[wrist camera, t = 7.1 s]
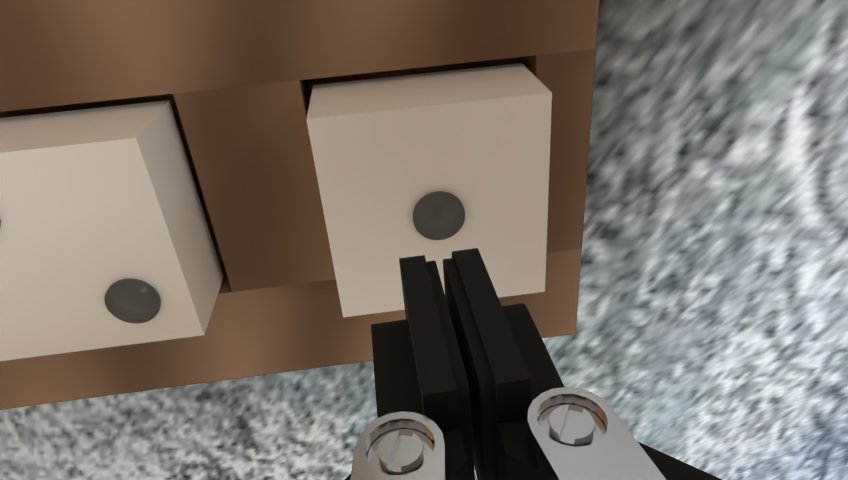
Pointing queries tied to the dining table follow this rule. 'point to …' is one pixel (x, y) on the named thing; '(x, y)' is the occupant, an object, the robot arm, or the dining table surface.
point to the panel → (281, 154)
